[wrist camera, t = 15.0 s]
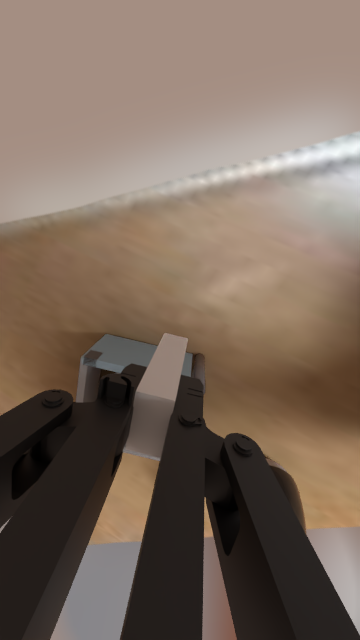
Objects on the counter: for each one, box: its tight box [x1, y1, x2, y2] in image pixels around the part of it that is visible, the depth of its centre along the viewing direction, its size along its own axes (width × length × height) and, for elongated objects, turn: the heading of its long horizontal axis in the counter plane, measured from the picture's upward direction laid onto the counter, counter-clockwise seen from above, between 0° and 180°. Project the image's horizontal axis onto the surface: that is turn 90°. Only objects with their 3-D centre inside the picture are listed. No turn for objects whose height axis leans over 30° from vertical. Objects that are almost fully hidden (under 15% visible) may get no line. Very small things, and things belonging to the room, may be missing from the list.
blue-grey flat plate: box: [81, 334, 193, 377], centre depth 35 cm, size 13×1×8 cm, turn 78°
